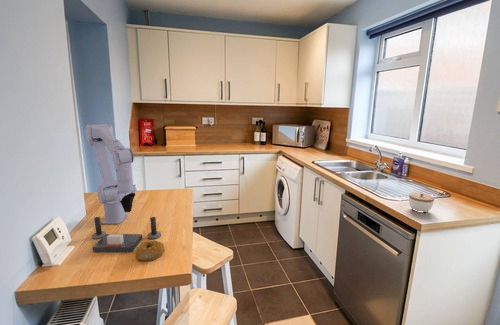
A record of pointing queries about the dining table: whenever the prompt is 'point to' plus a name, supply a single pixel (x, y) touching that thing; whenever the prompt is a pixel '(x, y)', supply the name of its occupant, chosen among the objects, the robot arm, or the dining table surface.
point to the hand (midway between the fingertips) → (127, 211)
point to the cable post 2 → (153, 229)
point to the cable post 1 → (98, 229)
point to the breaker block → (126, 246)
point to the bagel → (149, 250)
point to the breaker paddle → (115, 239)
